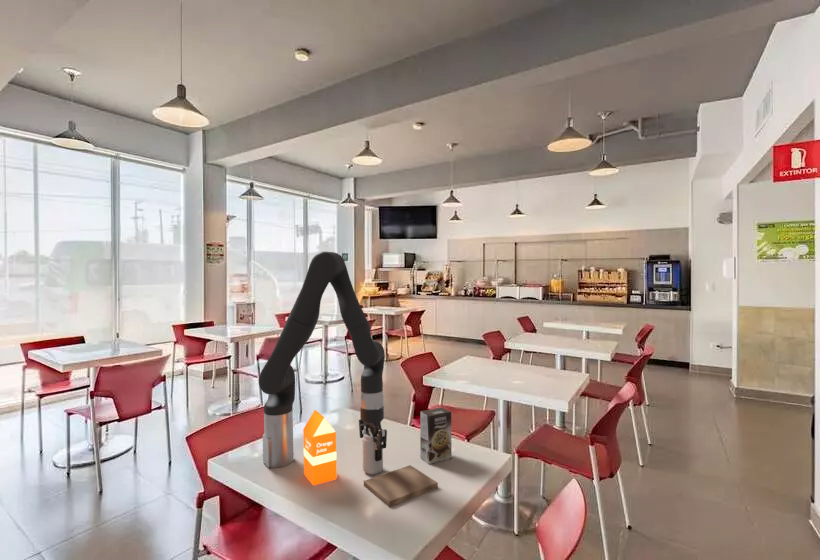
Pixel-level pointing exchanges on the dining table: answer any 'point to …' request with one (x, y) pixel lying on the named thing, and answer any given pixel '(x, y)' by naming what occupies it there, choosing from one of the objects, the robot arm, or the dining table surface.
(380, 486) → the walnut board
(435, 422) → the coffee box
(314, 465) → the orange juice
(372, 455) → the beverage can
